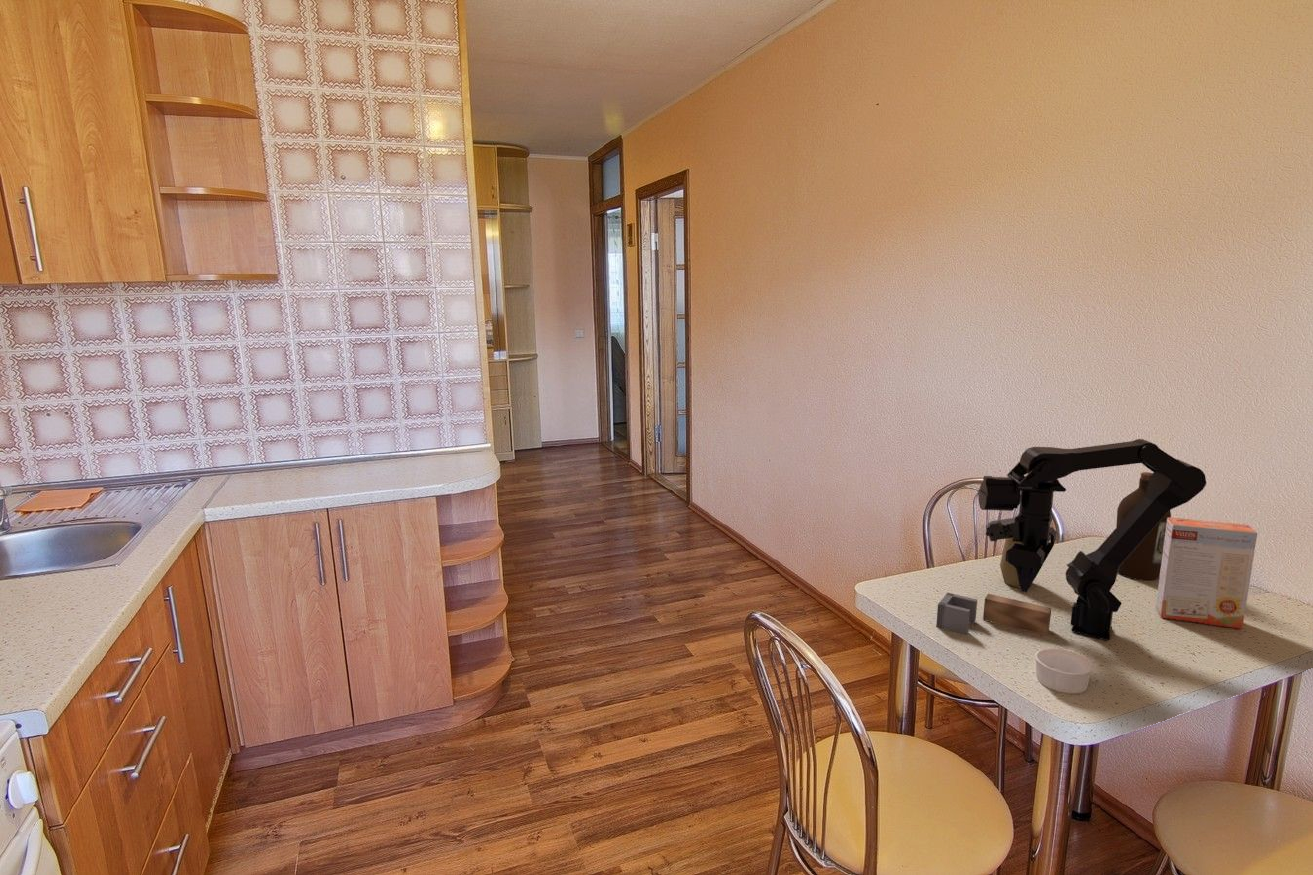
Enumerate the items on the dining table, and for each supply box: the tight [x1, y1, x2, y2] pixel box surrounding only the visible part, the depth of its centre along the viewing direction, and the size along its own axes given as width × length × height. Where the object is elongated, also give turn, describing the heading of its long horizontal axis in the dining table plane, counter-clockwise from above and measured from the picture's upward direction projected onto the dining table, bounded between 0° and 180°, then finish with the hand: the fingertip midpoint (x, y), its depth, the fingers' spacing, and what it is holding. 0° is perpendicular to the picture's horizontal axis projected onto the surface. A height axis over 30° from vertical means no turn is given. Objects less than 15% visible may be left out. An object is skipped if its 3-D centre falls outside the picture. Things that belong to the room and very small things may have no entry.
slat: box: [982, 593, 1052, 636], centre depth 146 cm, size 12×3×5 cm, turn 53°
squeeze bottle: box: [999, 537, 1033, 588], centre depth 165 cm, size 8×8×18 cm
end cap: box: [935, 592, 978, 635], centre depth 147 cm, size 6×7×5 cm
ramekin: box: [1034, 647, 1094, 695], centre depth 125 cm, size 9×9×4 cm
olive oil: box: [1115, 471, 1172, 581], centre depth 169 cm, size 11×11×25 cm
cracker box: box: [1155, 517, 1258, 630], centre depth 146 cm, size 14×6×21 cm, turn 65°
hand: (1028, 584), depth 144 cm, fingers open, 9 cm apart
